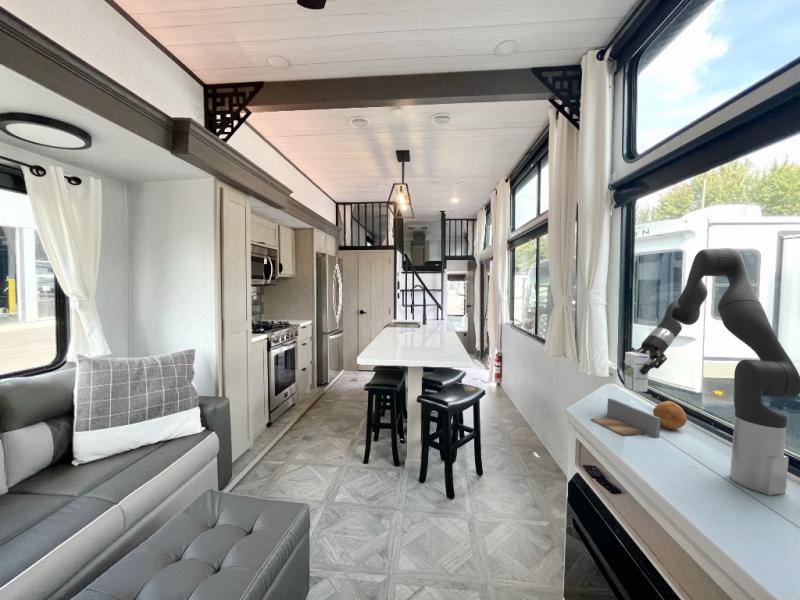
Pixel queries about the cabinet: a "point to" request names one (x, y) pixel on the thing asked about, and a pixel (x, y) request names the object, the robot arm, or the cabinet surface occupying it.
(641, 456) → the cabinet surface
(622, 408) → the grey barrier panel
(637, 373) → the syrup box
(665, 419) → the onion
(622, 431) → the walnut pad
